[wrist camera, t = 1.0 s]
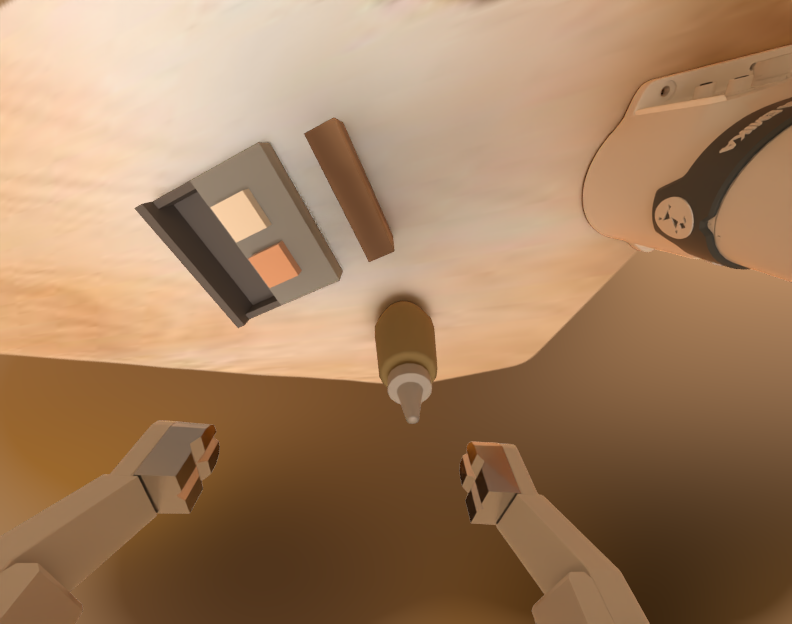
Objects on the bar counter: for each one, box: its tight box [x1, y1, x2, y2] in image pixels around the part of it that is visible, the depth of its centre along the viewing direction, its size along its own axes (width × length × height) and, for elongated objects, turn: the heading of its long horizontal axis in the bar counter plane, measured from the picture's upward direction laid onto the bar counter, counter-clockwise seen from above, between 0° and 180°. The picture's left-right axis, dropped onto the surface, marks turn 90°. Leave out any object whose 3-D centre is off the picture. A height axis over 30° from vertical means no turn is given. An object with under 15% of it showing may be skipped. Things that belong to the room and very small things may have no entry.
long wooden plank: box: [304, 118, 394, 262], centre depth 30 cm, size 3×13×6 cm, turn 23°
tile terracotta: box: [248, 241, 302, 288], centre depth 33 cm, size 4×4×2 cm
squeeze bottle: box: [375, 301, 437, 424], centre depth 34 cm, size 8×8×18 cm
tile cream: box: [210, 189, 271, 243], centre depth 30 cm, size 4×4×2 cm
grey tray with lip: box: [135, 142, 343, 328], centre depth 33 cm, size 14×16×4 cm
